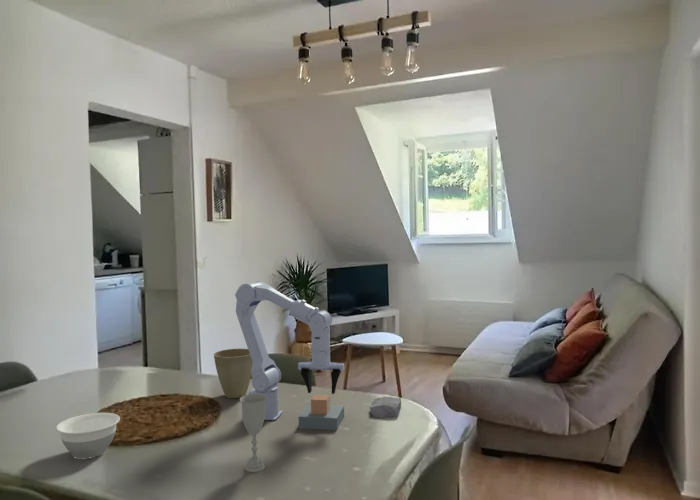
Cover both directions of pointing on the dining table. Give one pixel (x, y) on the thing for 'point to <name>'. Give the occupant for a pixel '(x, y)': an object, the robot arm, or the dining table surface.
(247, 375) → the plant pot
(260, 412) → the chalice
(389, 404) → the stone block
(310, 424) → the slate box
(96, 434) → the bowl
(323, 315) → the robot arm
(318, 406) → the terracotta block
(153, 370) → the dining table surface
